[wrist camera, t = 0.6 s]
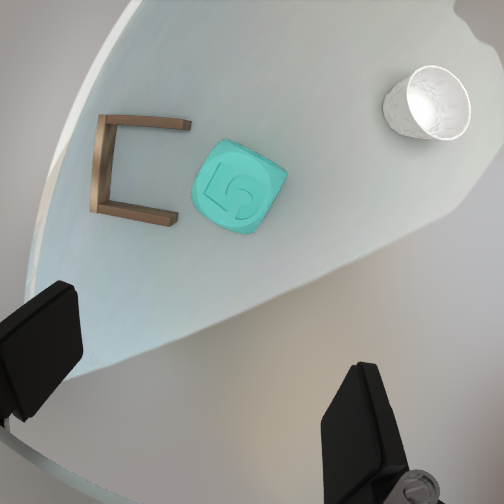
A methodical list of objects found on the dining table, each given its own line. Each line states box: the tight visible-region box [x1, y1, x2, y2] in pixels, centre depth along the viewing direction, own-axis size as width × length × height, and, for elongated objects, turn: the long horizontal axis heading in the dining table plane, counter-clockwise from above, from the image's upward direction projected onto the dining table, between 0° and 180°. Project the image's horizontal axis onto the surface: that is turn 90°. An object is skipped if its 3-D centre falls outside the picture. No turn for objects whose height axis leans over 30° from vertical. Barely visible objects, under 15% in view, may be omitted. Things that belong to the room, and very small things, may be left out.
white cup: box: [383, 65, 471, 140], centre depth 27 cm, size 8×8×10 cm
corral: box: [90, 115, 191, 227], centre depth 37 cm, size 13×12×3 cm
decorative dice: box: [191, 139, 287, 234], centre depth 34 cm, size 8×8×8 cm
